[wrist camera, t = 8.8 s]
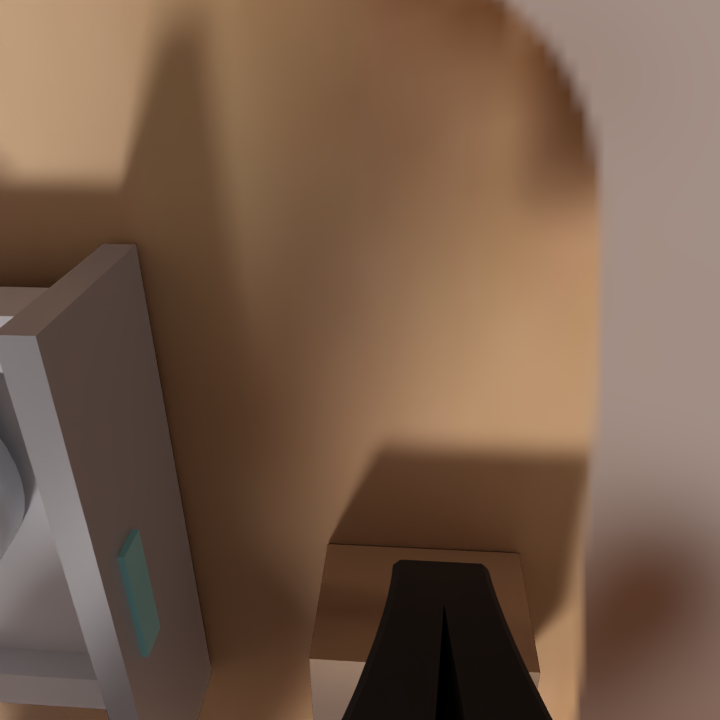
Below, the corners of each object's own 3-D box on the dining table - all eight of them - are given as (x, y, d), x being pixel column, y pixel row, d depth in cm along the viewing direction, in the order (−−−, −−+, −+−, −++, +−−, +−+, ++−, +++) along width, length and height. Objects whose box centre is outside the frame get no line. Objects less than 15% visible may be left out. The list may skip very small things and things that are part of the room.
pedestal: (501, 678, 20) (516, 802, 17) (333, 667, 20) (318, 788, 17) (518, 553, 18) (540, 672, 14) (327, 544, 18) (309, 658, 15)
